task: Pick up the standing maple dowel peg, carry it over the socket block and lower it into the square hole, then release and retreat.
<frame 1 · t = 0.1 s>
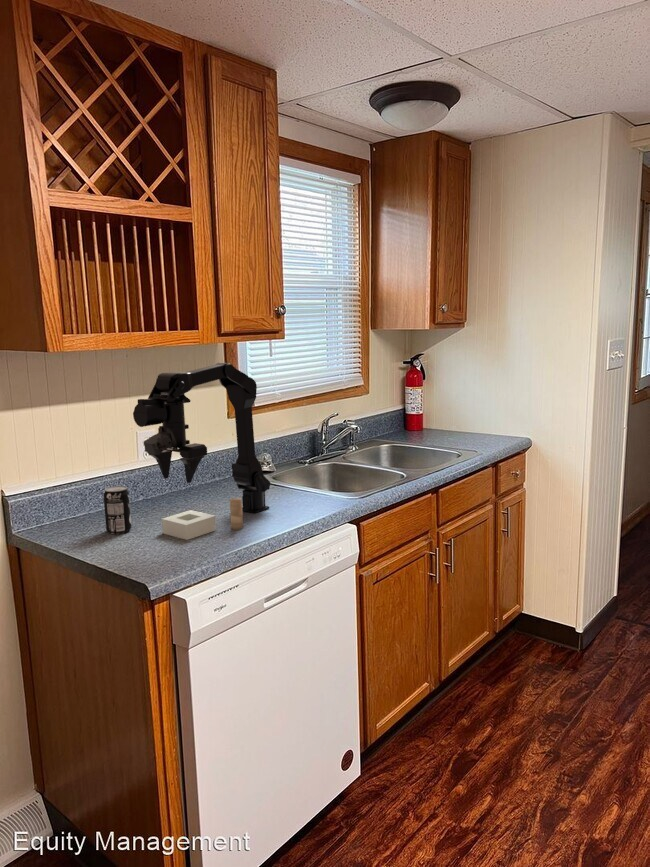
hand: (177, 480, 175), 15 cm above the worktop, fingers open, 9 cm apart
beverage can: (119, 532, 181), on the worktop
socket: (189, 531, 179), on the worktop
peg: (237, 528, 181), on the worktop
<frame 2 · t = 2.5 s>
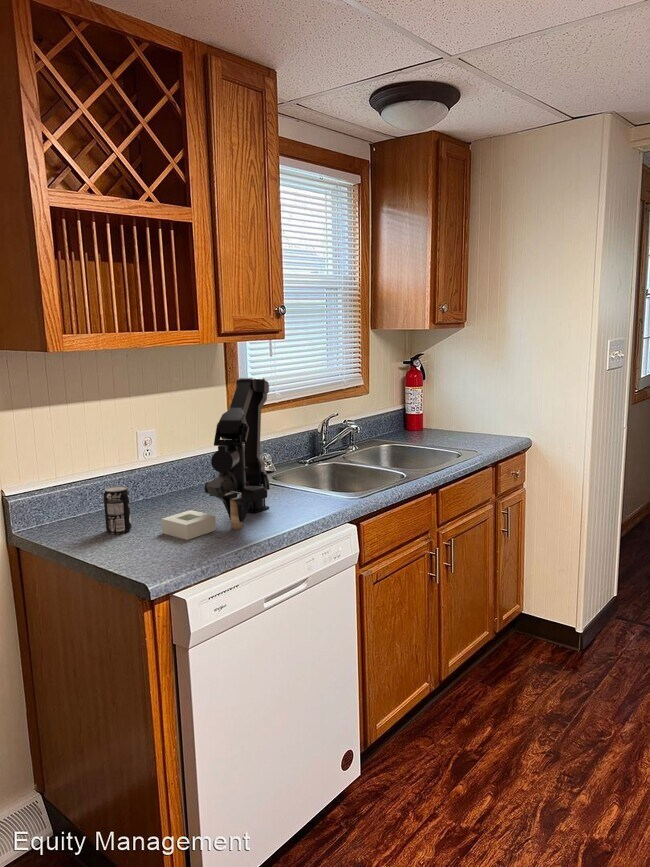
hand: (236, 520, 181), 2 cm above the worktop, fingers closed on peg, 3 cm apart
peg: (237, 528, 181), on the worktop, touching gripper
everything else where it was.
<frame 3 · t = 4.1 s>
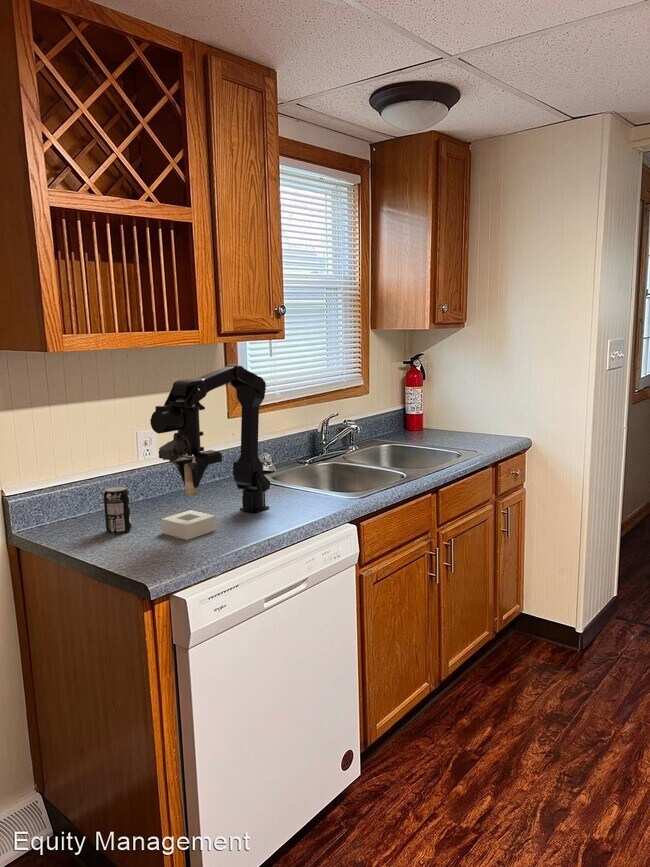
hand: (191, 486, 177), 12 cm above the worktop, fingers closed on peg, 3 cm apart
peg: (191, 494, 177), point 10 cm above the worktop, touching gripper
everything else where it was.
when the fingers open (5 cm above the worktop, at t = 5.6 s): peg drops 2 cm, resting in socket.
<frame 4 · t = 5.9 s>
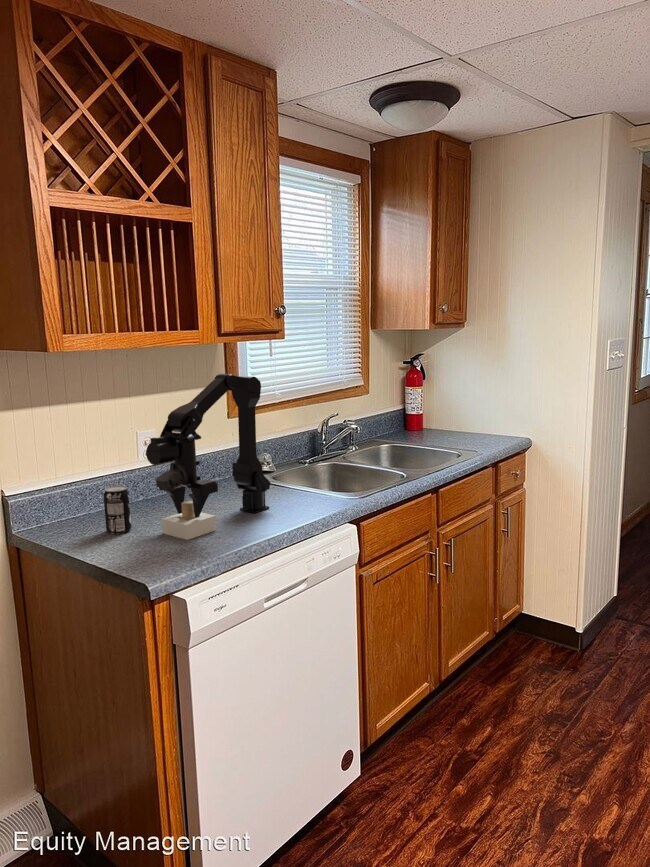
hand: (188, 515, 178), 5 cm above the worktop, fingers open, 7 cm apart
peg: (189, 531, 179), resting in socket
everything else where it was.
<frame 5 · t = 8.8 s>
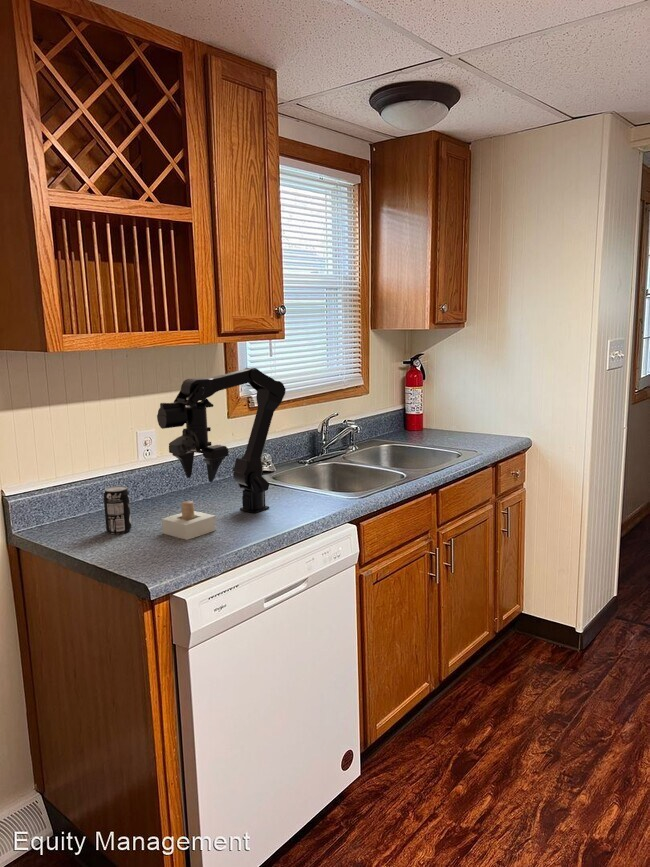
hand: (199, 479, 186), 12 cm above the worktop, fingers open, 9 cm apart
nothing on the worktop moved.
at the end: peg 0.0 cm off-centre on the socket, point 0.0 cm above the socket's base; peg tilted 0°; the gripper is holding nothing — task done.
